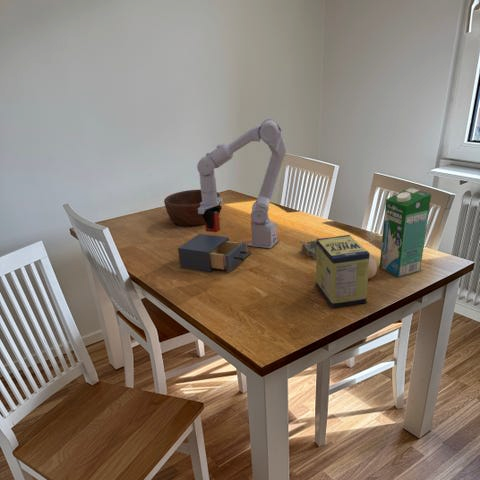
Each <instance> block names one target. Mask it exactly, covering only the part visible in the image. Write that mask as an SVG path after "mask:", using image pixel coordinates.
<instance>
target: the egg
mask: <svg viewBox="0 0 480 480" xmlns="http://www.w3.org/2000/svg"><path fill="white" fill-rule="evenodd" d="M377 271H378V262H377V260H376V258H375V256H374V255H372V254H370V255H369V268H368V280H370V279H372V278H373V277H375V275H376V274H377Z"/></svg>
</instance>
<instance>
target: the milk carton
mask: <svg viewBox="0 0 480 480" xmlns="http://www.w3.org/2000/svg"><path fill="white" fill-rule="evenodd" d="M431 198H432V193H430V192H427V191H424V190H420V189H418V188H414V187H408V188H406V189H405V190H402V191H400V192H398V193H396V194H394V195H392V196H390V197H388V198H387V199H385V207H384V217H383V227H382V238H381V239H382V240H381V248H380V261H379V268H381V270H384V271H386V272H387V273H389V274H392V275H393V276H395V277H397V278H400V277H403V276H406V275H411V274H414V273H417V272H420V271H421V268H422V261H423V255H424V254H423V253H424V247H425V241H426V240H425V239H426V233H427V226H428V220H429V215H430V214H429V213H430V207H431V206H430V205H431Z"/></svg>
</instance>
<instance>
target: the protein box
mask: <svg viewBox="0 0 480 480" xmlns="http://www.w3.org/2000/svg"><path fill="white" fill-rule="evenodd" d="M316 240H317V250H316V259H315V260H316V261H315V272H316V273H315V286H316V287H317V289H318V290H319V292H320V293H321V295H322V296H323V297H324V299H325V300H326V301H327V303H328V304H329V305H330V307H331V308H332V309H333V308H334V309H335V308H340V307H345V306H353V305H360V304H361V305H362V304H366V303H367V295H368V283H369V282H368V280H369V279H368V268H369V255H371V254H370V252H369V251H368V250H367V249H366V248H365V247H364V246H363V245H361V244H360V243H359V241H357V240H356V239H354V237H353V236H351V235H350V234H344V235H337V236H328V237H321V238H316Z"/></svg>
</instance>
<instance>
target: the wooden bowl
mask: <svg viewBox="0 0 480 480" xmlns="http://www.w3.org/2000/svg"><path fill="white" fill-rule="evenodd" d="M217 197H220V198H221V194H220V193H219V192H218V191H217ZM163 201H164V202H163V204H164V207H165V210H166V213H167V215H168V217H169V219H170V220H171V221H172V223H173V224H175V225H177V226H181V227H196V226H202V225H205V220H204V218H203V217H202V215H201V214H198V208H199V207H200V206H201V205H200V203H201V202H202V194H201V189H190V190H189V189H188V190H182V191H178V192H175V193H172V194H169V195H167V196H166V197H165V198H164V200H163ZM218 205H219V206H221V203H219V204H218Z"/></svg>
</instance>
